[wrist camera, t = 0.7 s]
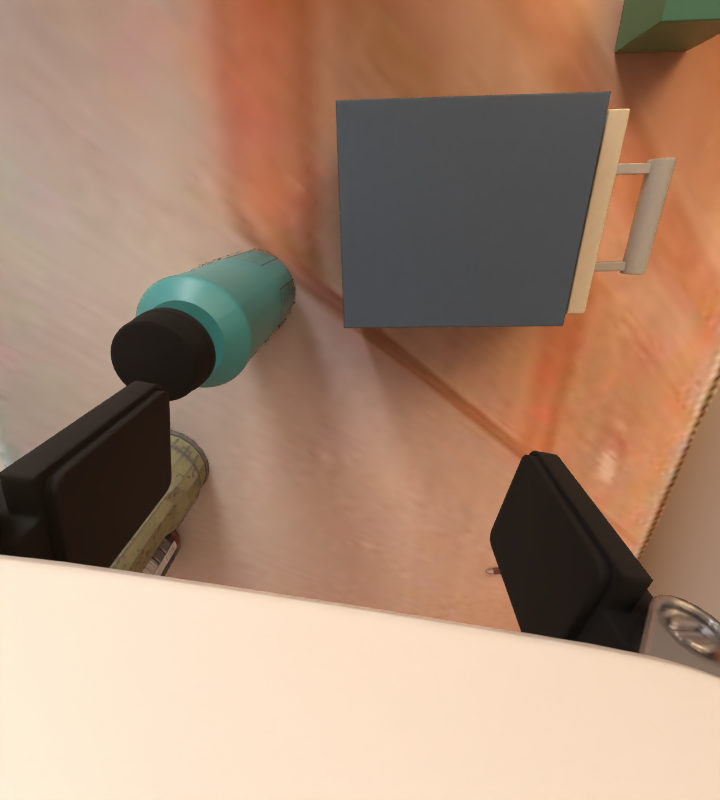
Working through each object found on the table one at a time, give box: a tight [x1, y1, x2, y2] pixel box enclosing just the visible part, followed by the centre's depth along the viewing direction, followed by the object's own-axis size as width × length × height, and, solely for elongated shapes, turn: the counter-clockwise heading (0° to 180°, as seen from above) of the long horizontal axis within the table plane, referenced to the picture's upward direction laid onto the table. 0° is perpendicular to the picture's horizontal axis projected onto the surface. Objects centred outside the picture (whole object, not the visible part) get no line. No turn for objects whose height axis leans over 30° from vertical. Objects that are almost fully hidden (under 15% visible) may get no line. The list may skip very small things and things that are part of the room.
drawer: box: [566, 109, 676, 314], centre depth 28 cm, size 18×11×8 cm, turn 91°
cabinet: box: [336, 92, 611, 328], centre depth 28 cm, size 15×13×10 cm
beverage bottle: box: [111, 249, 296, 401], centre depth 26 cm, size 6×7×20 cm
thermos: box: [109, 430, 209, 573], centre depth 28 cm, size 9×12×35 cm
